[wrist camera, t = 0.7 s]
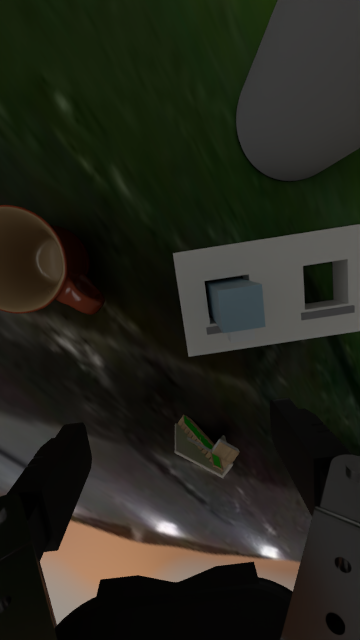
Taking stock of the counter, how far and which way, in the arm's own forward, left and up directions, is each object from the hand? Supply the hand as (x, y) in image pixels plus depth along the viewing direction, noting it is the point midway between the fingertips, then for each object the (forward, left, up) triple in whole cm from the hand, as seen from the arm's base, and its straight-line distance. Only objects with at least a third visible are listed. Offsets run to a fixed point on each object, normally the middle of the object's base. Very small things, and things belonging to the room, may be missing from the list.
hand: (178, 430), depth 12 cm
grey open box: (+16, +1, -24) cm, 29 cm away
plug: (-2, +6, -23) cm, 24 cm away
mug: (-8, -11, -23) cm, 27 cm away
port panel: (-2, +12, -23) cm, 26 cm away
